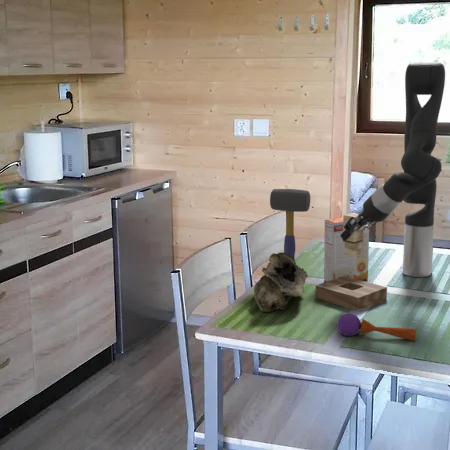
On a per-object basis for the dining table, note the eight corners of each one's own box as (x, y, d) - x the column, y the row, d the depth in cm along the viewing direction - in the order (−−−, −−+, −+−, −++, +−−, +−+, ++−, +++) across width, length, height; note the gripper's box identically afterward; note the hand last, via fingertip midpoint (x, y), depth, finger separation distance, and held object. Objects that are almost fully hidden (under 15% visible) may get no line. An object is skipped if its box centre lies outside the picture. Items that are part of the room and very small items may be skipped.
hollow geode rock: (289, 300, 226) (259, 264, 228) (318, 276, 221) (287, 240, 223) (263, 327, 200) (229, 287, 202) (295, 301, 195) (260, 260, 197)
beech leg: (351, 251, 212) (352, 212, 209) (362, 254, 209) (364, 214, 206) (342, 254, 209) (343, 215, 207) (353, 257, 206) (355, 217, 203)
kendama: (416, 331, 176) (337, 319, 181) (413, 351, 179) (335, 338, 183) (417, 319, 181) (340, 307, 186) (414, 338, 184) (338, 326, 189)
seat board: (344, 288, 223) (344, 275, 222) (386, 299, 211) (387, 287, 210) (315, 297, 213) (315, 285, 213) (357, 310, 202) (358, 297, 201)
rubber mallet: (268, 278, 233) (268, 189, 226) (274, 272, 240) (275, 186, 233) (304, 282, 229) (306, 191, 222) (310, 275, 236) (311, 187, 229)
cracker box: (357, 274, 236) (359, 214, 232) (368, 279, 231) (370, 217, 226) (322, 280, 231) (324, 218, 226) (333, 285, 225) (334, 222, 221)
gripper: (390, 188, 204) (355, 223, 215) (360, 195, 195) (325, 230, 206) (405, 209, 201) (368, 242, 213) (375, 216, 192) (339, 251, 203)
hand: (347, 236), depth 209 cm, fingers closed on beech leg, 4 cm apart
